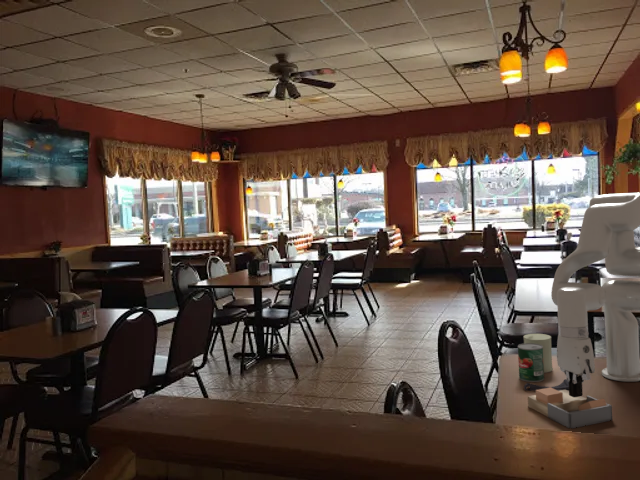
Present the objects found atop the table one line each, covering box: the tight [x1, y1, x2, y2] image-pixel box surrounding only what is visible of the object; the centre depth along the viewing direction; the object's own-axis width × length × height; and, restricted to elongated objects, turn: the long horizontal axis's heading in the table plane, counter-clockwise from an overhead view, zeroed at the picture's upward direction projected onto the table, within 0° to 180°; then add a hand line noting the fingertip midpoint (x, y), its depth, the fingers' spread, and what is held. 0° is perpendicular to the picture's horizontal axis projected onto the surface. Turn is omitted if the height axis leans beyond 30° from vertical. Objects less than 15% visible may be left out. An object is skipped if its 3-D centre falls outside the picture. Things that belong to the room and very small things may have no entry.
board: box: [527, 390, 587, 418], centre depth 157 cm, size 13×9×3 cm
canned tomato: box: [517, 343, 545, 383], centre depth 183 cm, size 8×8×11 cm
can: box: [522, 333, 554, 374], centre depth 193 cm, size 9×9×12 cm
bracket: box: [523, 378, 569, 392], centre depth 172 cm, size 14×15×3 cm
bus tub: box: [547, 395, 613, 429], centre depth 148 cm, size 14×8×4 cm, turn 106°
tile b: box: [535, 386, 563, 404], centre depth 155 cm, size 5×5×2 cm
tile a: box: [578, 398, 608, 411], centre depth 148 cm, size 5×5×2 cm
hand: (575, 395), depth 154 cm, fingers closed
